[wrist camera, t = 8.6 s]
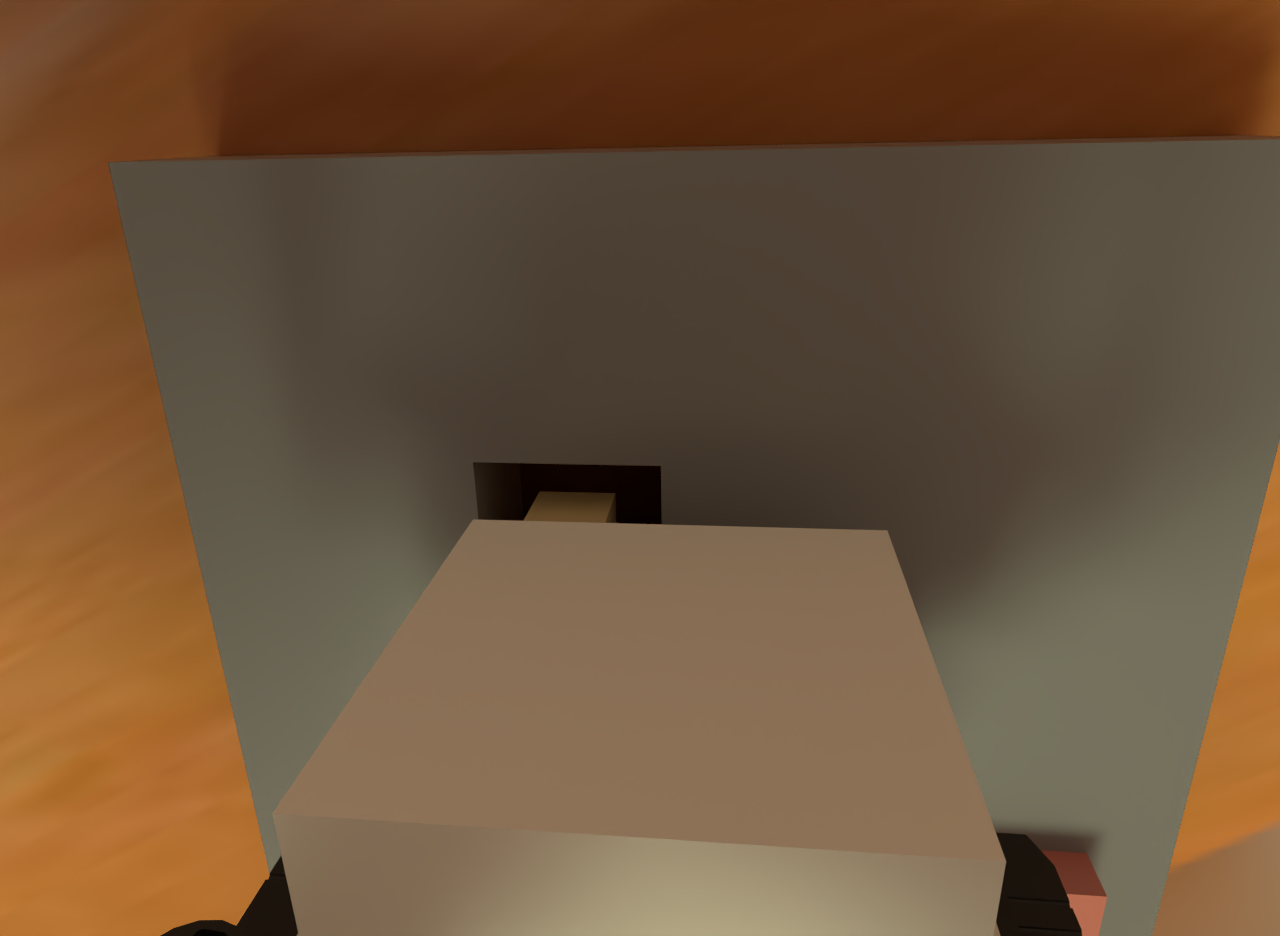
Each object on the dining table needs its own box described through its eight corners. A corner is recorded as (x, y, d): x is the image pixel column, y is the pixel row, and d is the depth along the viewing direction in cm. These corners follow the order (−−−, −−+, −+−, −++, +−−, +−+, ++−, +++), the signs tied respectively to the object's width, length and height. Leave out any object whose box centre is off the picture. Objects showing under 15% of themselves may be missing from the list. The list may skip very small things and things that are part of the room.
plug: (546, 803, 19) (389, 1348, 10) (520, 450, 16) (271, 813, 7) (833, 820, 18) (911, 1419, 10) (860, 456, 15) (1005, 860, 7)
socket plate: (350, 884, 23) (274, 1030, 19) (215, 155, 16) (62, 164, 13) (1069, 938, 21) (1139, 1112, 17) (1239, 135, 14) (1409, 138, 11)
